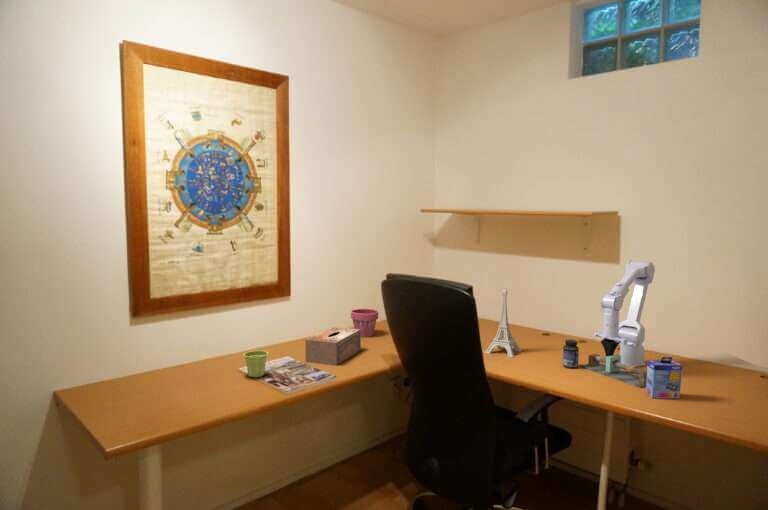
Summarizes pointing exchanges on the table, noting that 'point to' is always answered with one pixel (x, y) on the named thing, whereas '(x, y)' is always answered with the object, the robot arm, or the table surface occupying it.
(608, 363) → the collar
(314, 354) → the tissue box cover
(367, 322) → the plant pot
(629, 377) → the rail stand
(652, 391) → the ink cartridge box
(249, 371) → the plant pot
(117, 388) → the table surface
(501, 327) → the eiffel tower
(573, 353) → the pill bottle
